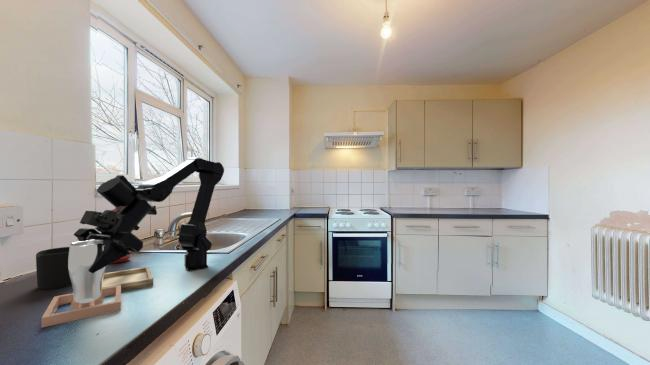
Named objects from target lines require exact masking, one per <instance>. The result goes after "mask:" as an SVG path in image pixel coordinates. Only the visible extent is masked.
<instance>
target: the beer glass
mask: <svg viewBox="0 0 650 365" xmlns="http://www.w3.org/2000/svg"><path fill="white" fill-rule="evenodd" d="M68 247H69V256H68V270H69V276H70V280H71V284H72V285H71V288H72V293H73V297H72V301H71V303H70V306H69V307H70V310H75V309H80V308H85V307H90V306H95V305H100V304H104V301H105V296H104V297H103V293H102V282H103V277H104V273H106V268H107V266H105V267H103V268H102V269H100V270H98V271H96V272H94V273H91V272H89V269H90V268H91V266H92V265H93V264H94V262H95V261H96V260H97V258H98V257H99V256H100V254H101V253H102V252H103V250H104V249H105V240H86V241H79V240H78V241H75V242H71V243H70V244H69V246H68Z"/></svg>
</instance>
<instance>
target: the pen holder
mask: <svg viewBox="0 0 650 365" xmlns="http://www.w3.org/2000/svg"><path fill="white" fill-rule="evenodd" d="M69 247H70V246H62V247H54V248H49V249H43V250H39V251H37V253H36V255H35V263H36V264H35V266H36V268H35V269H36V283H37V286H36V287H37V288H38V289H39V290H45V291H46V290H47V291H49V290H56V289H61V288H65V287H70V286H72V284H71V280H70V276H69V270H68V256H69Z"/></svg>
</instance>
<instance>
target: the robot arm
mask: <svg viewBox="0 0 650 365" xmlns="http://www.w3.org/2000/svg"><path fill="white" fill-rule="evenodd" d="M194 173H198V177H199V181H200V185H199V189H198V192H197V193H196V194H197V195H196V197H195V201H194V206H193V208H192V212H191V216H190V218H189V221H188V222H187V223H186V224H185V223H182V224H180V225H181V226H180V229H179V233H178V234H177V236H178V242H179V244H180V246H181V249H182V250H183V251H186V254H185V253H184V258H183V259H184V260H183V261H184V263H183V265H184V267H185V268H186V270H187V271H194V270H200V269H205V268H209V265H208V264H207V263H208V251H210V250H211V249H212V245H213V243H212V242H211V241H210V240H209V239H208V238H207V233H208V232H207V231H208V230H207V228H206V227H207V226H206V219H207V215H208V213H209V208H210V205H211V201H212V197H213V194H214V190H215V186H216V185H217V184H218V183H220V181H221V180H222V178H223V175H224V173H225V168H224V166H223V164H222V163H221V162H219V161H217V162H215V161H212V160H211V161H210V160H207V159H203V158H202V157H189V158H187V159H186V160H185V161H184V162H182V163H180V164H179V165H178V166H176V167H175V168H172V169H171V170H170V171H168V172H166V173H165V174H164V175H162V176H160V177H157V178H153V179H150V180H147V181H145V182H143V183H141V184H139V185H138V186H136V187H135V186H134V185H133V184H132V183H131V182H130V181H128V179H127V177H126V176H124V175H121V174H120V175H119V174H118V175H116V176H115V177H113V178H111V179H109V180H107V181H105V182H103V183H101V184H100V185H99V186H98V187H97V190H96V192H97V194H99V195H100V196H101V197H102V198H104V199H105V200H106V201H107V202H108V203H110V204H111V206H114V207H120V206H121V207H123V208H122V209H121V210H120V211H119V212H118V213H117V214H116V212H114V211H111V210H112V209H106V210H104V211H103V212H101V211H96V210H95V211H94V210H85V211H84V214H83V215H82V217H81V219H80V221H79V223H80V224H82V225H87V226H88V225H89V226H92V227H94V228H92V227H91V228H90V227H81V228H78V229H77V230H76V231H75V232H74V233H73V236H75V237H76V238H77V241H78V242H79V241H86V240H105V249H104V250H103V252H102V253H101V254H100V256H99V257H98V258H97V260H96V261H95V262H94V264H93V265H92V266H91V268H90V269H89V272H91V273H94V272H96V271H98V270H100V269H102V268H103V267H105V266H106V267H107V266H108V265H111V264H113V263H112V262H114V261H116V260H118V259H120V258H122V257H124V256H126V255H130V256H131V254H132V253H133V254H134V253H135V254H139V253H140V252H141V250H143V248H144V242H143V240H141V239H140V238H138V236H136V235H135V234H134V233H133V232H134V231H138V230H140V226H139V224H140V223H141V222H142V221H143V220H144V218H146V216H147V215H151V216H156V215H157V214H158V212H157V208H156V207H157V206H156V205H152V204H150V203H153V202H154V203H162V202H163V201H165V200H166V199H167V198H168V197H169V196H170V195H171V194H172V193H173V190H174V189H175V187H176V186H177V185H179V184H181V182H183V181H184V180H186V179H187V178H189V176H191V175H193V174H194Z"/></svg>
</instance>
